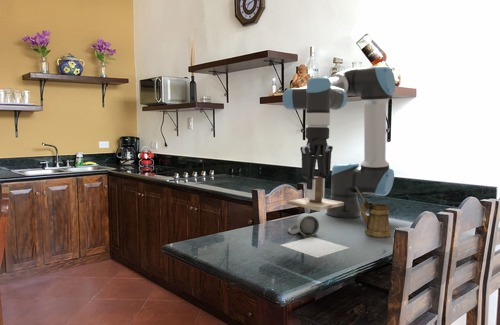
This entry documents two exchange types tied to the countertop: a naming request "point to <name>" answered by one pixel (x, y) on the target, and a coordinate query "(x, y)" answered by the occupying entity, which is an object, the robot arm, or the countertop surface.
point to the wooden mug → (375, 218)
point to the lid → (316, 199)
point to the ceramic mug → (305, 225)
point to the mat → (314, 247)
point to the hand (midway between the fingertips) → (315, 198)
